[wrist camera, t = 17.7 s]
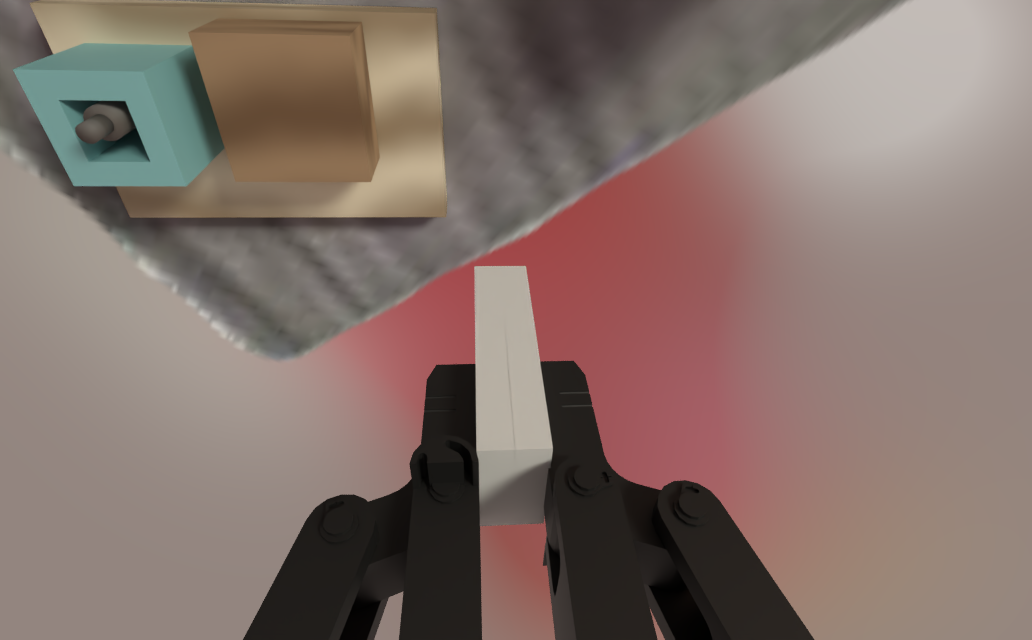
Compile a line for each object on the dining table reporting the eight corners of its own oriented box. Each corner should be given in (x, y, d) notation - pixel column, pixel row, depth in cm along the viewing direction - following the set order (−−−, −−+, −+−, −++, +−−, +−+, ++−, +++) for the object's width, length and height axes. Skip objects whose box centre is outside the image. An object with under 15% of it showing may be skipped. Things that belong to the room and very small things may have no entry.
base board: (52, -3, 30) (-84, 29, 23) (436, 8, 32) (426, 40, 24) (144, 204, 38) (66, 277, 31) (447, 204, 40) (441, 273, 33)
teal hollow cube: (84, 43, 30) (12, 69, 25) (193, 45, 30) (143, 71, 26) (128, 146, 34) (73, 186, 29) (225, 147, 34) (186, 186, 30)
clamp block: (217, 18, 30) (187, 32, 27) (361, 21, 30) (349, 35, 27) (256, 156, 35) (235, 181, 32) (379, 157, 35) (370, 182, 32)
